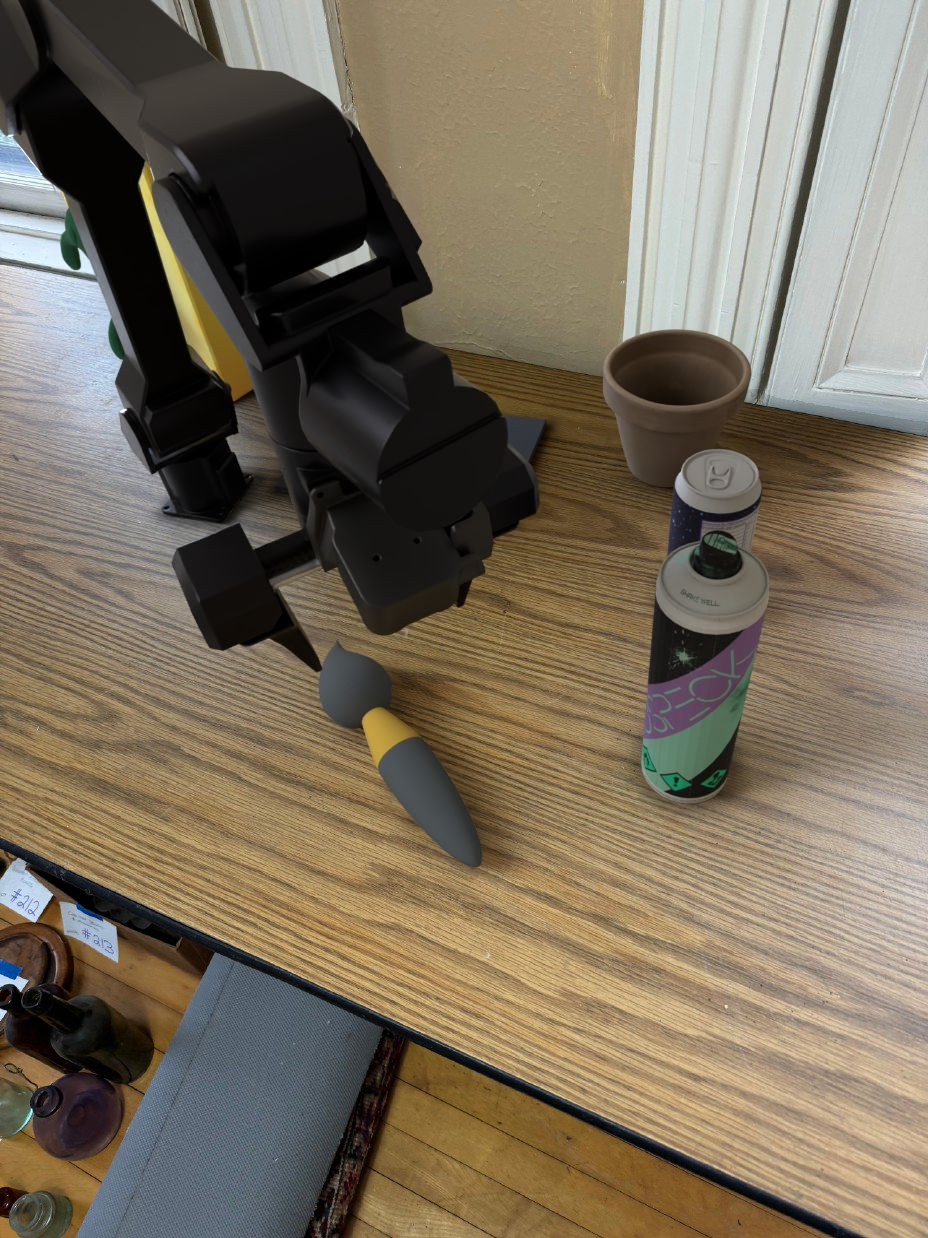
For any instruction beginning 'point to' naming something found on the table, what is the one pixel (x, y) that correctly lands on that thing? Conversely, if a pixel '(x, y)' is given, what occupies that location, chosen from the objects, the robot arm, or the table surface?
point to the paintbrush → (398, 751)
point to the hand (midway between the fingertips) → (388, 634)
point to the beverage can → (715, 498)
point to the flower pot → (672, 397)
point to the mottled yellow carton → (189, 302)
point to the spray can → (700, 664)
